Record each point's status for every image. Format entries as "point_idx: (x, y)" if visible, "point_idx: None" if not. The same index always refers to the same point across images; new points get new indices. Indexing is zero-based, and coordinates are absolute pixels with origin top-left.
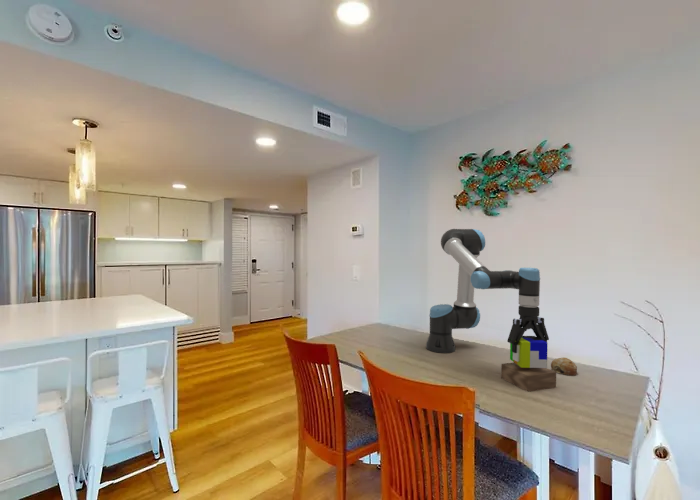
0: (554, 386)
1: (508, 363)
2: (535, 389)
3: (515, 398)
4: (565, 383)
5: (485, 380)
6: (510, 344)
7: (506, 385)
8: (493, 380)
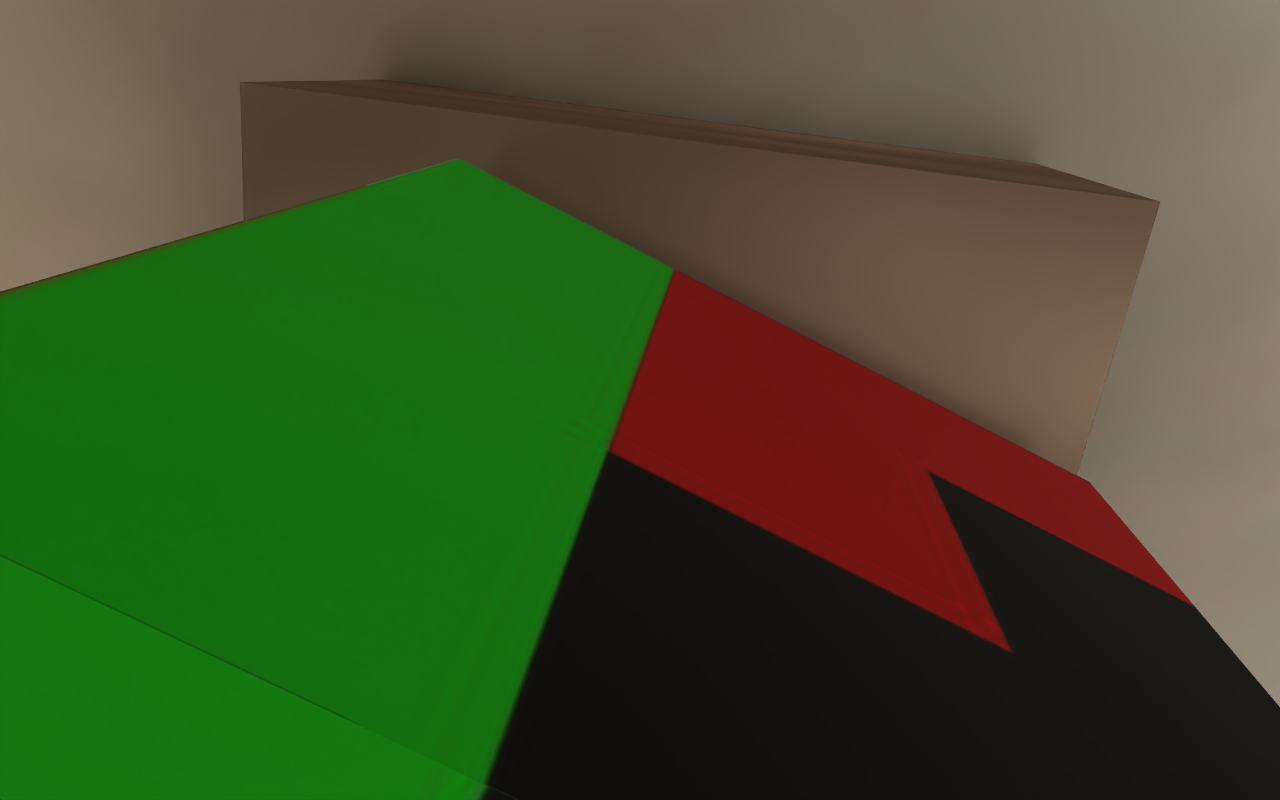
0: None
1: (443, 140)
2: None
3: None
4: None
5: (28, 39)
6: (203, 259)
7: None
8: (168, 103)
